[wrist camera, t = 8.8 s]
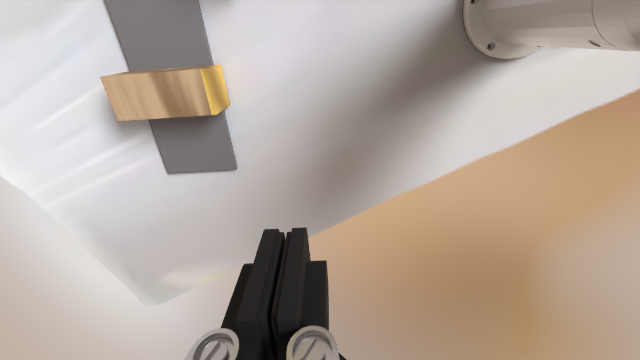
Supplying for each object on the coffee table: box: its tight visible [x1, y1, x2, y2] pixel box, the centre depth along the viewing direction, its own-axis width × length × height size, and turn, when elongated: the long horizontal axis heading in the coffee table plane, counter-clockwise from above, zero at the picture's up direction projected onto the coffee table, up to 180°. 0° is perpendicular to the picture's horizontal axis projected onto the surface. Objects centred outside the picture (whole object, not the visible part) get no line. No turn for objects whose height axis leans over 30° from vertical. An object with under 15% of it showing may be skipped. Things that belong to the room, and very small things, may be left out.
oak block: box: [100, 65, 230, 121], centre depth 34 cm, size 5×5×12 cm
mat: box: [105, 0, 237, 174], centre depth 36 cm, size 10×24×1 cm, turn 4°
